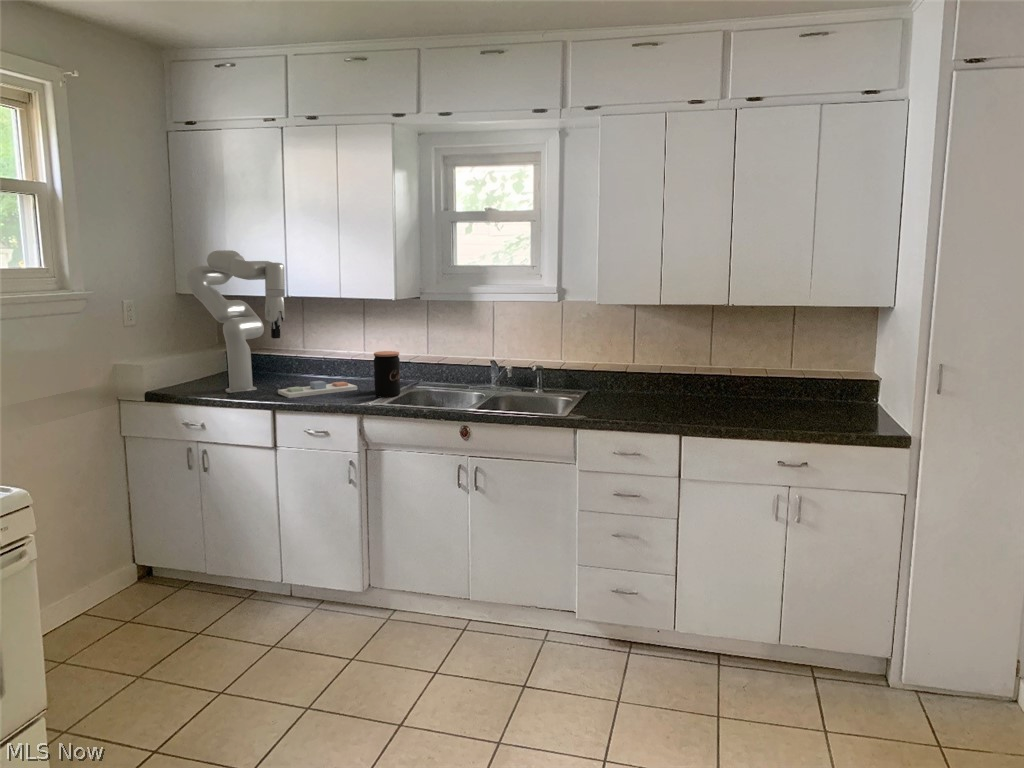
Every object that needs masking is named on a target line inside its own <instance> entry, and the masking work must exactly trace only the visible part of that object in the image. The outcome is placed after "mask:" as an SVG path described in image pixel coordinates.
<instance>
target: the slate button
mask: <svg viewBox="0 0 1024 768" xmlns="http://www.w3.org/2000/svg"><path fill="white" fill-rule="evenodd" d="M326 384H327V382H326V381H323V380H315V381H309V386H310V388H311V389H314V390H316V389H324V388H326Z"/></svg>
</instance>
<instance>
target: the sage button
mask: <svg viewBox="0 0 1024 768" xmlns="http://www.w3.org/2000/svg"><path fill="white" fill-rule="evenodd" d="M301 387H302V386H298V385H297V386H291V387H289V386H288V387H286V389H287V391H289V392H299V391H303V388H301Z"/></svg>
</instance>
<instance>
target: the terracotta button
mask: <svg viewBox="0 0 1024 768" xmlns="http://www.w3.org/2000/svg"><path fill="white" fill-rule="evenodd" d="M348 383H349V382H346V381H336V382H332V383H331V384H332V386H335V387H342V386H348Z"/></svg>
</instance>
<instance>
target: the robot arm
mask: <svg viewBox="0 0 1024 768" xmlns="http://www.w3.org/2000/svg"><path fill="white" fill-rule="evenodd" d="M206 263H207V265H197V266H193V267H191V268H190V269H189V270H188V271H187V273H186V283H187V287H188V289H189V291H190V292H191V294H192V295H194V297H195V298H196V299H198V300H199V302H201V304H203V306H204V307H205V309H207V311H208V312H209V313H210V314H211V315H212V317H213V318H214V319H215V320H216V321H217V322H218V323H220V324H221V323H222V324H223V325H222V332H223V336H224V340H225V346H226V347H225V348H226V356H227V371H228V372H227V374H228V385H229V386H228V388H225V393H227V394H233V393H238V392H247V391H248V392H249V391H255V390H258V389H257V386H254V385H253V368H252V352H251V347H250V345H249V344H248V342H247V341H246V340H251V339H256V338H259V337H261V336H262V335H263V334H264V331H265V326H264V323H263V321H262V320H261V318H260V317H259V316H258V315H257V313H256V312H255V311H254V310H253V308H252V307H251V306H250V305H249V304H248V303H247V302H245V301H243V300H240V299H230V300H229V299H226V298H225V297H224V296H223V295H222V294H221V293H220V291H218V290H217V289H216V288H214V287H212V286H220V285H224V284H226V283H227V282H228V281H230V279H231V278H233V277H235V278H237V279H242V280H245V281H258V280H263V281H264V285H265V286H264V287H265V288H264V289H265V291H264V293H265V302H264V303H265V304H264V306H265V307H264V319H265V320H267V321H269V323H270V338H271V339H275V340H276V339H281V326H282V325H283V322H284V321H285V301H284V298H285V297H286V296H285V292H286V291H285V289H286V288H285V285H286V284H285V266H284V264H283V263H281V262H272V261H269V260H250V261H249V260H245V258H244V256H242V255H240V253H238V252H237V251H235V250H231V249H230V250H229V249H228V250H220V249H219V250H213V251H212V252H210V253H209V254H207V258H206Z"/></svg>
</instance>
